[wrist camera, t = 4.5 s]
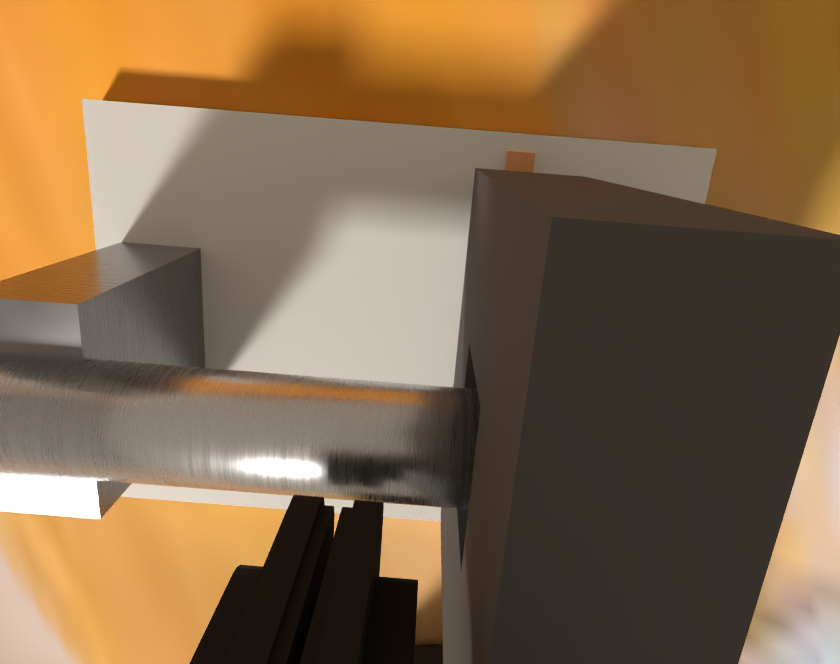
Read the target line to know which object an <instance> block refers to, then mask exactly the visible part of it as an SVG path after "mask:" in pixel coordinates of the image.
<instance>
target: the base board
mask: <svg viewBox="0 0 840 664" xmlns="http://www.w3.org/2000/svg"><path fill="white" fill-rule="evenodd" d="M82 105H83V115H84V126H85V137H86V147H87V158H88V168H89V179H90V190H91V200H92V211H93V221H94V232H95V243H96V250H99V249H102V248H105V247H108V246H111V245H114V244H117V243H120V242H127V243H139V244H152V245H165V246H178V247H190V248H201V272H202V297H203V322H204V347H205V368H214V369H227V370H240V371H253V372H265V373H278V374H291V375H304V376H316V377H329V378H342V379H355V380H368V381H380V382H393V383H406V384H419V385H432V386H444V387H453V385H454V375H455V365H456V355H457V345H458V335H459V325H460V315H461V305H462V295H463V285H464V275H465V265H466V255H467V245H468V235H469V225H470V215H471V205H472V195H473V185H474V175H475V168H482V169H495V170H507V171H520V172H533V173H546V174H558V175H571V176H584V177H589V178H593V179H598V180H602V181H606V182H611V183H615V184H620V185H624V186H628V187H633V188H637V189H641V190H646V191H650V192H654V193H659V194H663V195H667V196H672V197H676V198H680V199H685V200H689V201H693V202H698V203H702V204H705V202H706V198H707V193H708V189H709V184H710V179H711V175H712V170H713V166H714V161H715V157H716V152H717V149H713V148H701V147H688V146H675V145H662V144H650V143H637V142H624V141H612V140H599V139H586V138H573V137H561V136H548V135H535V134H523V133H510V132H497V131H484V130H472V129H459V128H446V127H434V126H421V125H408V124H395V123H383V122H370V121H357V120H345V119H332V118H319V117H306V116H294V115H281V114H268V113H256V112H243V111H230V110H218V109H205V108H192V107H179V106H167V105H154V104H141V103H129V102H116V101H103V100H90V99H82ZM121 497H134V498H147V499H159V500H172V501H185V502H198V503H211V504H223V505H236V506H249V507H262V508H275V509H288V506H289V504H290V502H291V499H292V497H293V496H289V495H276V494H263V493H250V492H238V491H225V490H212V489H199V488H186V487H173V486H161V485H148V484H135V483H132V484H131V485H130V486H129V487H128V488H127V489H126V491H125V492H124V493H123V494H122V495H121ZM324 502H325V505H328V506H334V513H339V514H340V513H341V509H342V507H352V508H353V503H354V501H353V500H340V499H327V498H324ZM383 517H390V518H403V519H416V520H429V521H441V507H430V506H417V505H404V504H391V503H384V509H383Z"/></svg>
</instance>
